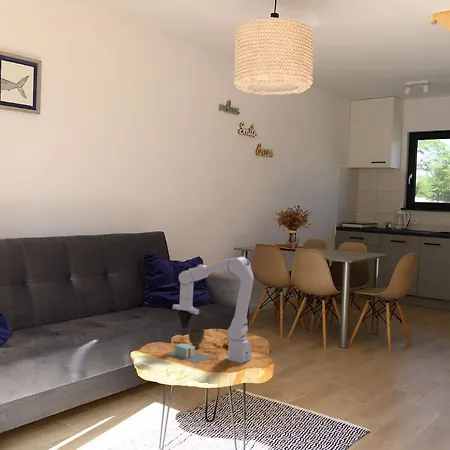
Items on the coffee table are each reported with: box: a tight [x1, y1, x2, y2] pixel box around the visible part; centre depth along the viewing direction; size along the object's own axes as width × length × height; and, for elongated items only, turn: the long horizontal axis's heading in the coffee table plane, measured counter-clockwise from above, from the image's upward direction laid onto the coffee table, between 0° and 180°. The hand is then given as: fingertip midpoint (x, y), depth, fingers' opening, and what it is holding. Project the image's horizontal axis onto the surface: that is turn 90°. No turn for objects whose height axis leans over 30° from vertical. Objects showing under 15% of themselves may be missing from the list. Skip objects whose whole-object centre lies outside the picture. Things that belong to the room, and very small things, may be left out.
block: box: [174, 343, 196, 358], centre depth 235 cm, size 4×5×7 cm
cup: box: [188, 328, 205, 348], centre depth 250 cm, size 8×7×8 cm
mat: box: [164, 350, 214, 364], centre depth 235 cm, size 18×12×1 cm, turn 50°
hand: (184, 327), depth 243 cm, fingers closed
